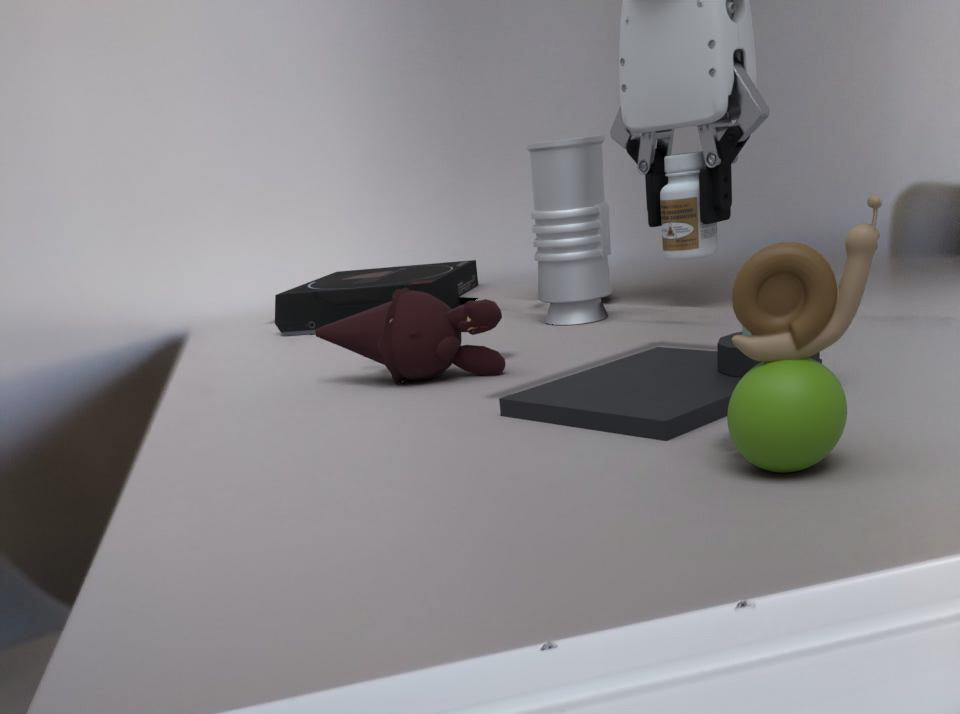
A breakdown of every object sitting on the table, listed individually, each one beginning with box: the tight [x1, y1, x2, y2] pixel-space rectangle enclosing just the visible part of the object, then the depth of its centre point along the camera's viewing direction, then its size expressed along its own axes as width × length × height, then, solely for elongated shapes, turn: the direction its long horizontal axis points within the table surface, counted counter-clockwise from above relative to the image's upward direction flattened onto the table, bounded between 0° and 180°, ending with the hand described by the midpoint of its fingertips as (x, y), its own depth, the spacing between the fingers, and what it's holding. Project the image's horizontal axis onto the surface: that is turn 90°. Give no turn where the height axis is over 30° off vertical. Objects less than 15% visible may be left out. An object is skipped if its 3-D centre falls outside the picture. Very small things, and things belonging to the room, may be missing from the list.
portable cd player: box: [274, 259, 479, 337], centre depth 109 cm, size 16×17×4 cm
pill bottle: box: [660, 150, 719, 261], centre depth 83 cm, size 4×4×8 cm
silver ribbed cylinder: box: [525, 134, 613, 326], centre depth 92 cm, size 7×7×15 cm
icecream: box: [314, 287, 506, 385], centre depth 77 cm, size 7×7×15 cm
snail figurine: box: [726, 193, 883, 474], centre depth 47 cm, size 5×6×12 cm
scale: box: [498, 331, 823, 442], centre depth 64 cm, size 16×14×3 cm
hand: (689, 220), depth 83 cm, fingers closed on pill bottle, 4 cm apart
